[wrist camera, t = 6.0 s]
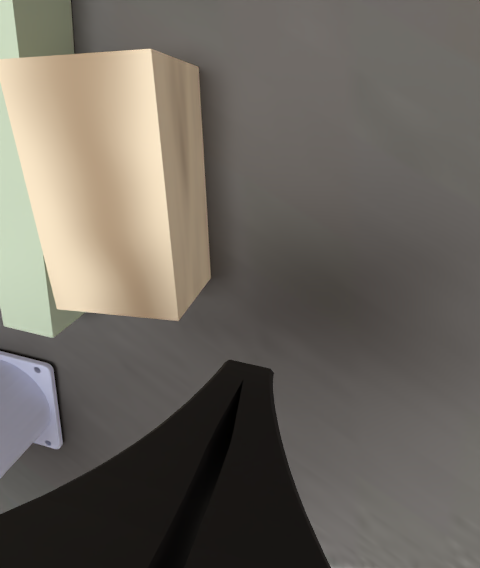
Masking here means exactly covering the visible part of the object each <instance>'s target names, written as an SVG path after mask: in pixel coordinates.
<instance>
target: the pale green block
mask: <svg viewBox="0 0 480 568" xmlns="http://www.w3.org/2000/svg"><path fill="white" fill-rule="evenodd" d="M68 54H74V41H73V26H72V10H71V0H0V59H10V58H24V57H39V56H53V55H68ZM0 308H1V313H2V319H3V324H4V326H5V327H10V328H14V329H18V330H22V331H26V332H30V333H34V334H38V335H42V336H46V337H51V338H54V337H55V336H57V335H58V334H59V333H60V332H62V331H63V330H64V329H65V328H67V327H68V326H69V325H70V324H72V323H73V322H74V321H75V320H77V319H78V318H79V317H80V316H82V315H83V314H84V313H85V312H80V311H69V310H59V309H57V307H56V303H55V299H54V295H53V291H52V287H51V283H50V279H49V275H48V271H47V267H46V263H45V259H44V255H43V251H42V247H41V243H40V239H39V235H38V231H37V227H36V223H35V219H34V215H33V211H32V207H31V203H30V199H29V195H28V191H27V187H26V183H25V179H24V175H23V171H22V167H21V163H20V159H19V155H18V151H17V147H16V143H15V139H14V135H13V131H12V127H11V123H10V119H9V115H8V111H7V107H6V103H5V99H4V95H3V91H2V87H1V83H0Z"/></svg>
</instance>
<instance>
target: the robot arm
mask: <svg viewBox="0 0 480 568" xmlns="http://www.w3.org/2000/svg"><path fill="white" fill-rule="evenodd" d="M273 374H274V373H273V371H272V370H271V369H269V368H264V367H260V366H255V365H251V364H246V363H242V362H237V361H233V360H228V361H227V362H225V363H224V364H223V366H222V367H221V368H220V369H219V370H218V372H217V373H216V374H215V375H214V376H213V377H212V378H211V379H210V380H209V381H208V382H207V383H206V384H205V385H204V386H203V387H202V388H201V389H200V390H199V391H198V392H197V393H196V394H195V395H194V396H193V397H192V398H191V399H190V400H189V401H188V402H187V403H186V404H184V405H183V406H182V407H181V408H180V409H179V410H177V411H176V412H175V413H174V414H173V415H171V416H170V417H169V418H168V419H167V420H165V421H164V422H163V423H162V424H160V425H159V426H158V427H157V428H155V429H154V430H153V431H151V432H150V433H149V434H147V435H146V436H144V437H143V438H142V439H140V440H139V441H137V442H136V443H135V444H133V445H132V446H130V447H129V448H127V449H125V450H124V451H122V452H121V453H119V454H118V455H116V456H114V457H113V458H111V459H110V460H108V461H106V462H105V463H103V464H101V465H100V466H98V467H96V468H95V469H93V470H91V471H89V472H87V473H85V474H83V475H82V476H80V477H78V478H76V479H74V480H72V481H70V482H68V483H67V484H65V485H63V486H61V487H59V488H57V489H55V490H53V491H51V492H49V493H47V494H45V495H43V496H41V497H39V498H36V499H34V500H32V501H30V502H27V503H25V504H23V505H21V506H18V507H16V508H14V509H11V510H9V511H7V512H5V513H2V514H0V568H331V567H330V565H329V563H328V561H327V559H326V557H325V555H324V553H323V550H322V548H321V546H320V544H319V541H318V539H317V537H316V535H315V533H314V530H313V528H312V526H311V524H310V521H309V519H308V517H307V515H306V512H305V510H304V507H303V505H302V502H301V499H300V497H299V494H298V492H297V489H296V486H295V483H294V480H293V477H292V474H291V471H290V468H289V465H288V462H287V458H286V455H285V451H284V448H283V444H282V440H281V436H280V432H279V427H278V422H277V417H276V411H275V405H274V396H273ZM32 443H36V444H40V445H43V446H46V447H50V448H53V449H59V448H60V447H61V446H62V445H63V440H62V432H61V424H60V416H59V408H58V400H57V393H56V385H55V377H54V370H53V367H52V366H51V365H50V364H48V363H46V362H42V361H38V360H34V359H30V358H26V357H22V356H18V355H14V354H10V353H6V352H3V351H0V478H1V477H2V476H3V475H4V474H5V473H6V472H7V471H8V470H9V468H10V467H11V466H12V465H13V464H14V463H15V462H16V461H17V460H18V459H19V458H20V456H21V455H22V454H23V453H24V452H25V451H26V450H27V449H28V448H29V447H30V445H31V444H32Z"/></svg>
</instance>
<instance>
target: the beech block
mask: <svg viewBox="0 0 480 568" xmlns="http://www.w3.org/2000/svg"><path fill="white" fill-rule="evenodd" d="M0 83H1V87H2V91H3V95H4V99H5V103H6V107H7V111H8V115H9V119H10V123H11V127H12V131H13V135H14V139H15V143H16V147H17V151H18V155H19V159H20V163H21V167H22V171H23V175H24V179H25V183H26V187H27V191H28V195H29V199H30V203H31V207H32V211H33V215H34V219H35V223H36V227H37V231H38V235H39V239H40V243H41V247H42V251H43V255H44V259H45V263H46V267H47V271H48V275H49V279H50V283H51V287H52V291H53V295H54V299H55V303H56V307H57V309H59V310H69V311H80V312H90V313H101V314H111V315H122V316H132V317H143V318H153V319H163V320H174V321H179V320H180V318H181V317H182V316H183V314H184V313H185V312H186V311H187V309H188V308H189V307H190V305H191V304H192V303H193V301H194V300H195V299H196V297H197V296H198V295H199V293H200V292H201V291H202V289H203V288H204V287H205V285H206V284H207V283H208V281H209V280H210V279H211V270H210V252H209V235H208V218H207V201H206V184H205V167H204V150H203V133H202V116H201V99H200V82H199V67H198V66H195V65H192V64H190V63H187V62H184V61H182V60H179V59H176V58H174V57H171V56H169V55H166V54H163V53H161V52H158V51H155V50H153V49H141V50H126V51H112V52H97V53H83V54H68V55H53V56H39V57H24V58H10V59H0Z"/></svg>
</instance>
